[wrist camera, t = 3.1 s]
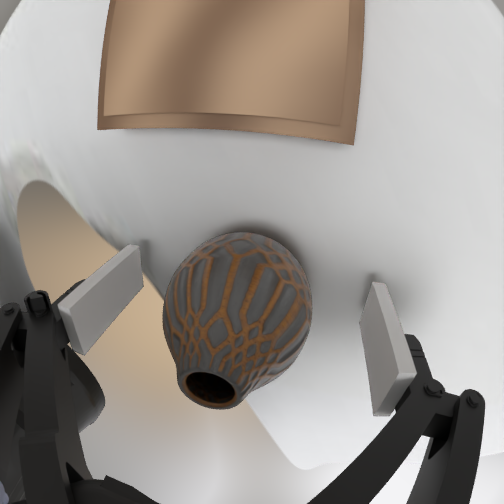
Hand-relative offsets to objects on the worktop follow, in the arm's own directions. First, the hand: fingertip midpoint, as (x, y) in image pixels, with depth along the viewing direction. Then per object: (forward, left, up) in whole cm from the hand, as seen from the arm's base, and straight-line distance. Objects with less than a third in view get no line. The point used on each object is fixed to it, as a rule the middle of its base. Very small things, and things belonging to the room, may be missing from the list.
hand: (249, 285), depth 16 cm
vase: (0, 0, -2) cm, 2 cm away
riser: (-2, +14, -1) cm, 14 cm away
